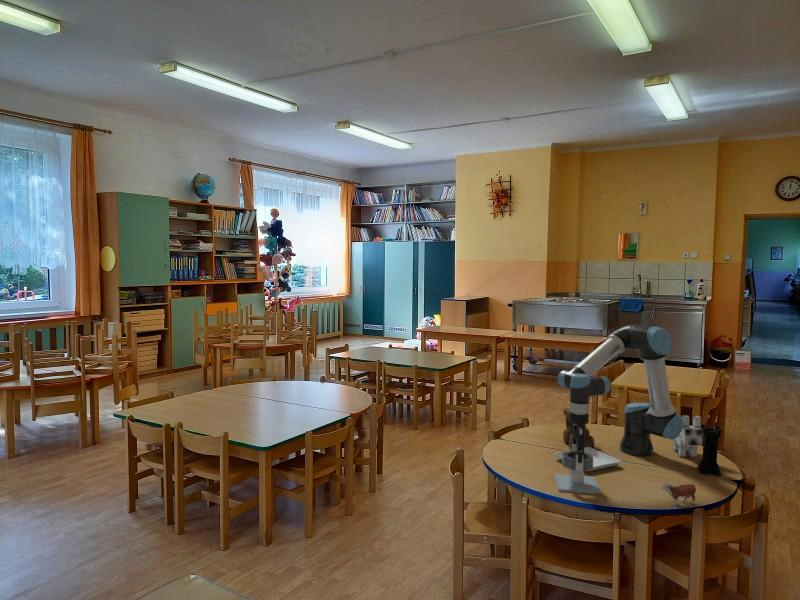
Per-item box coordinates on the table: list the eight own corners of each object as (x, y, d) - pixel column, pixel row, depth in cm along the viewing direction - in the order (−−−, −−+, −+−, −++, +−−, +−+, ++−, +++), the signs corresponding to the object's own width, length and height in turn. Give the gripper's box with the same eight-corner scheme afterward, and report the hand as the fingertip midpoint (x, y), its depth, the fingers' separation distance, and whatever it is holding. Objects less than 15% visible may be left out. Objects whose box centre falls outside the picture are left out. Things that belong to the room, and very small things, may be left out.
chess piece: (717, 469, 254) (719, 425, 253) (721, 476, 247) (723, 430, 245) (697, 467, 257) (699, 423, 255) (700, 473, 249) (702, 428, 248)
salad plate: (586, 475, 247) (586, 467, 247) (553, 459, 266) (553, 452, 266) (622, 468, 256) (622, 460, 256) (588, 453, 275) (588, 446, 275)
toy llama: (687, 448, 282) (688, 408, 280) (701, 461, 265) (703, 418, 263) (670, 448, 283) (672, 408, 281) (683, 460, 265) (685, 418, 264)
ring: (589, 461, 240) (590, 452, 240) (594, 471, 229) (594, 461, 229) (561, 459, 242) (561, 450, 242) (564, 469, 231) (564, 459, 230)
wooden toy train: (560, 439, 295) (561, 407, 294) (583, 439, 295) (584, 407, 294) (572, 452, 275) (573, 418, 274) (596, 453, 275) (597, 418, 274)
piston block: (593, 479, 243) (594, 459, 242) (600, 494, 227) (601, 473, 226) (554, 476, 245) (555, 456, 245) (558, 491, 230) (559, 470, 229)
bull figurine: (658, 501, 221) (659, 480, 220) (692, 500, 222) (693, 479, 221) (664, 506, 217) (665, 485, 216) (698, 505, 218) (699, 484, 217)
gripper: (566, 404, 246) (564, 454, 248) (573, 419, 223) (571, 474, 224) (584, 405, 245) (582, 455, 246) (593, 421, 222) (591, 476, 223)
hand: (577, 464), depth 235 cm, fingers closed on ring, 11 cm apart
